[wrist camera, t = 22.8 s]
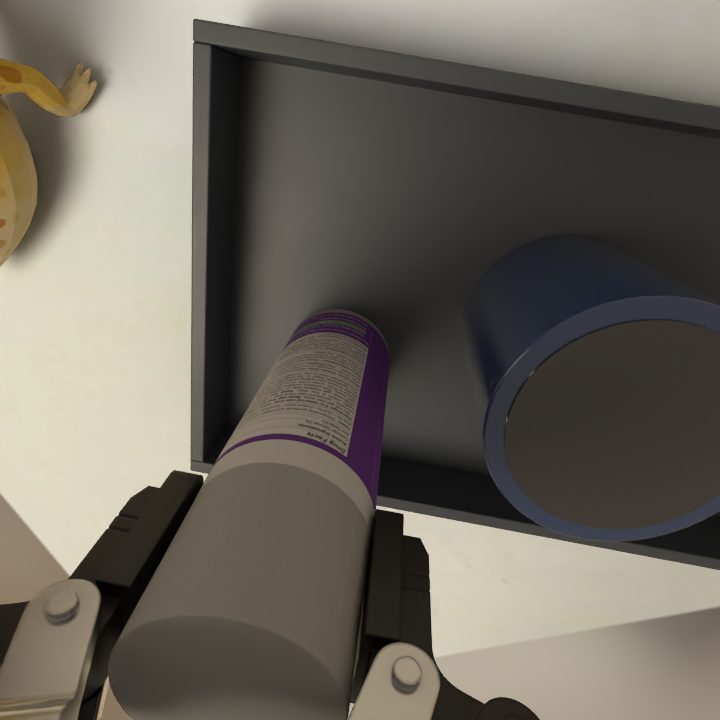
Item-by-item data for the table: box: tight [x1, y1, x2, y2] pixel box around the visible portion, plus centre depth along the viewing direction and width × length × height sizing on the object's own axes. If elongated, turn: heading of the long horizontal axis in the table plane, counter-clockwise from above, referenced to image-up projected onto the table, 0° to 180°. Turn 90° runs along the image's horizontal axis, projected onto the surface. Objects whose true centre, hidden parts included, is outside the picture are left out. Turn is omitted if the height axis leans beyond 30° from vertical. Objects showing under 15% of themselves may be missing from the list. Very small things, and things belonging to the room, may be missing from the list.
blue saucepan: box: [460, 235, 720, 542], centre depth 17 cm, size 15×8×8 cm, turn 81°
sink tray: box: [191, 19, 720, 570], centre depth 20 cm, size 17×28×4 cm, turn 81°
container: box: [108, 309, 390, 720], centre depth 16 cm, size 5×5×15 cm
